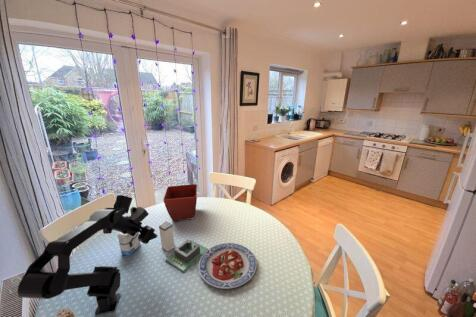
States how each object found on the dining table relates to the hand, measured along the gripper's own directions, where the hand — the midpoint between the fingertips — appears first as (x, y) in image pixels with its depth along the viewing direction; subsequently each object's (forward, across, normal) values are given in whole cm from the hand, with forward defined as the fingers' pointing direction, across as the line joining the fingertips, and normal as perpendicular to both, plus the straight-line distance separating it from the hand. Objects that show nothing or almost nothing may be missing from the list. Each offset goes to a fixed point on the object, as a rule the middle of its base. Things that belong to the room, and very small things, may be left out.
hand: (150, 232), depth 94 cm
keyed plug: (+15, 0, +4) cm, 16 cm away
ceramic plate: (+21, -33, -1) cm, 39 cm away
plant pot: (+33, +16, -14) cm, 39 cm away
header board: (+16, -13, +3) cm, 21 cm away
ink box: (+8, +14, +12) cm, 20 cm away
